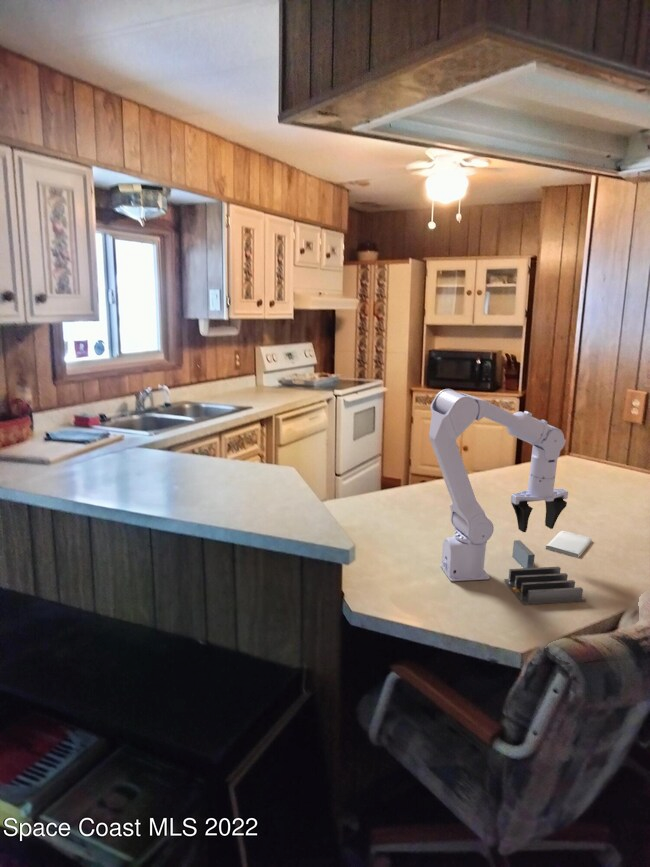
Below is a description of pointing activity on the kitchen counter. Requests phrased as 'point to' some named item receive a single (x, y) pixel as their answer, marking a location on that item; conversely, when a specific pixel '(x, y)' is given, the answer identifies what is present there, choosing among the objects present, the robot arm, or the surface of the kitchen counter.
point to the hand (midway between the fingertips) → (535, 528)
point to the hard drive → (569, 543)
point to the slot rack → (543, 586)
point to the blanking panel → (523, 555)
